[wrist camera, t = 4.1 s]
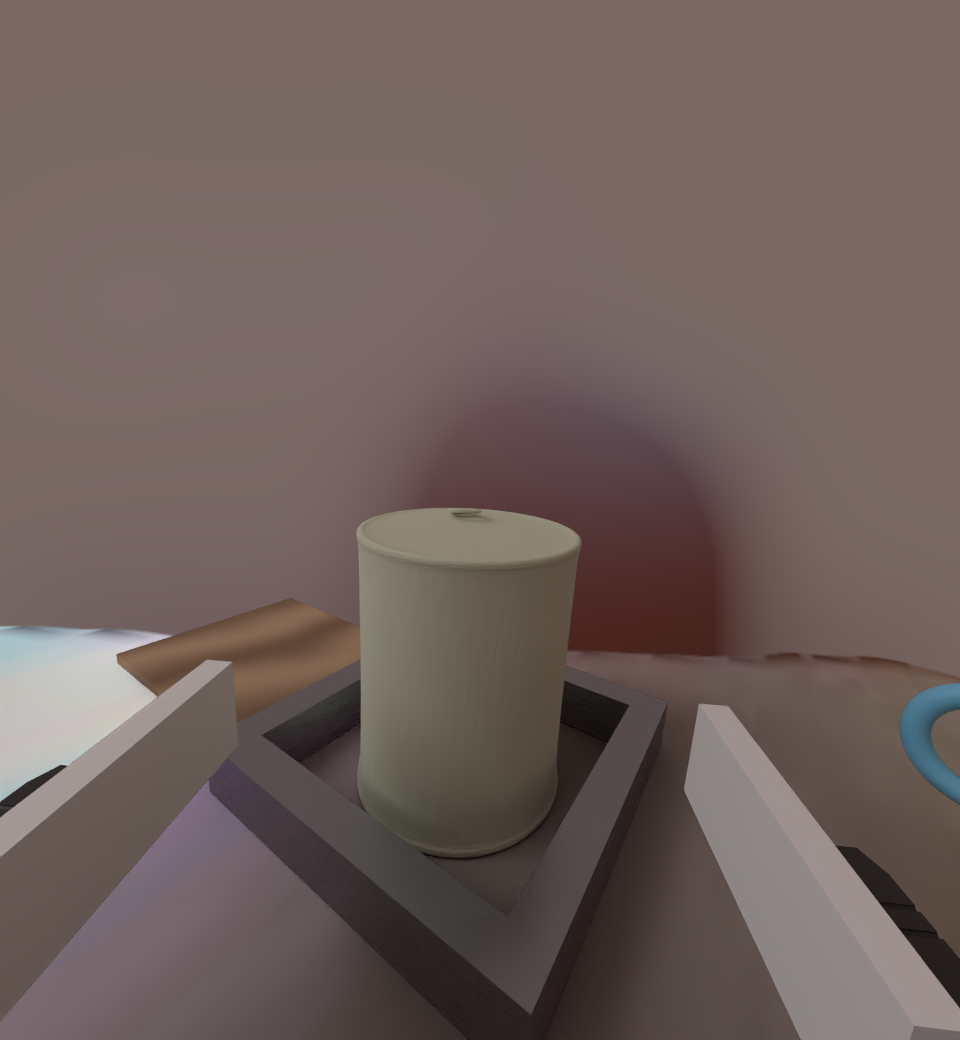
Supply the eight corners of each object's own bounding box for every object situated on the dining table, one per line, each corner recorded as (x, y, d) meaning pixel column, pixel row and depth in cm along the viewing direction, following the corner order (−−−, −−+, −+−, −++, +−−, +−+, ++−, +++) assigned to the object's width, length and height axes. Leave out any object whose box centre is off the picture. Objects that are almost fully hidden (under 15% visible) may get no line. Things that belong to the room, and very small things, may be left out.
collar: (210, 791, 19) (205, 739, 18) (435, 652, 31) (436, 619, 31) (522, 1091, 11) (531, 1015, 10) (661, 745, 23) (667, 701, 23)
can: (526, 701, 26) (543, 500, 24) (590, 845, 17) (628, 548, 15) (365, 710, 25) (364, 496, 22) (344, 875, 16) (339, 547, 13)
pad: (117, 662, 28) (116, 654, 28) (291, 604, 38) (290, 598, 38) (216, 745, 21) (215, 734, 21) (394, 649, 31) (394, 641, 31)
